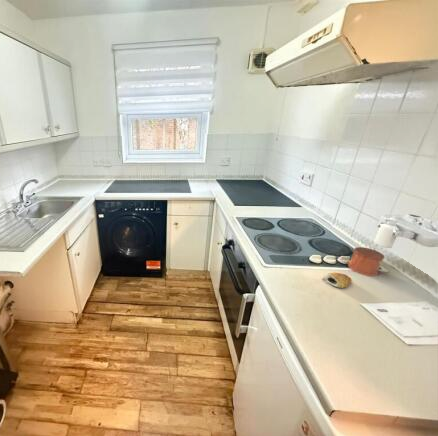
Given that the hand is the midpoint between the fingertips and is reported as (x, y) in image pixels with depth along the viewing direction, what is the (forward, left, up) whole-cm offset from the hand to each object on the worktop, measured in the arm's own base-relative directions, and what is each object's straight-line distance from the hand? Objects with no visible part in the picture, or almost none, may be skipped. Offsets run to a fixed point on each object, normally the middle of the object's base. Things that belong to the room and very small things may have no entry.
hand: (386, 229), depth 88 cm
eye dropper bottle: (-1, 0, -7) cm, 7 cm away
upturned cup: (-1, -7, -22) cm, 23 cm away
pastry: (+11, +9, -22) cm, 26 cm away
